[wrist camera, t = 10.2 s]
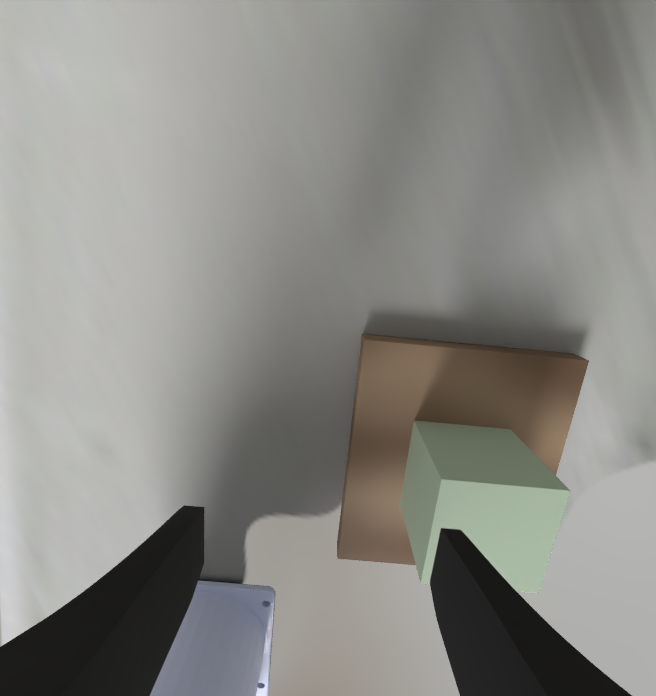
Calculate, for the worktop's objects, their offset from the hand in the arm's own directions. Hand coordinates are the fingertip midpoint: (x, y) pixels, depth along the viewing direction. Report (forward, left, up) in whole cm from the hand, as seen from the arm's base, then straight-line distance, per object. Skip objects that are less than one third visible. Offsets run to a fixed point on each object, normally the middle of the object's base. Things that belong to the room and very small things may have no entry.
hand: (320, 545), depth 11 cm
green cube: (-2, -7, -8) cm, 11 cm away
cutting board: (-2, -7, -9) cm, 12 cm away
